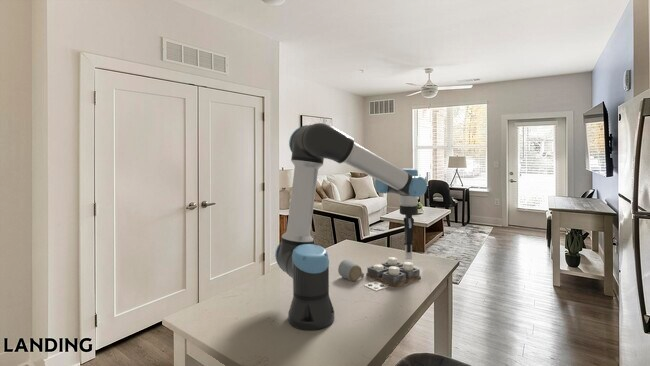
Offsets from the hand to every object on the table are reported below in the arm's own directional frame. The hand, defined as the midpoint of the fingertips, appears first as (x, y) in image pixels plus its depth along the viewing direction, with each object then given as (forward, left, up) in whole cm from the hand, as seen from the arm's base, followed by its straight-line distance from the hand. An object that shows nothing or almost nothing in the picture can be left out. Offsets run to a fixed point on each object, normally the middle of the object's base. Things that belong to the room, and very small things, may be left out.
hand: (408, 258), depth 144 cm
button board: (-5, +5, -8) cm, 11 cm away
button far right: (0, 0, -6) cm, 6 cm away
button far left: (0, +9, -6) cm, 11 cm away
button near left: (-9, +9, -7) cm, 15 cm away
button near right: (-9, 0, -6) cm, 11 cm away
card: (-18, +2, -8) cm, 20 cm away
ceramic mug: (-19, +15, -9) cm, 26 cm away
